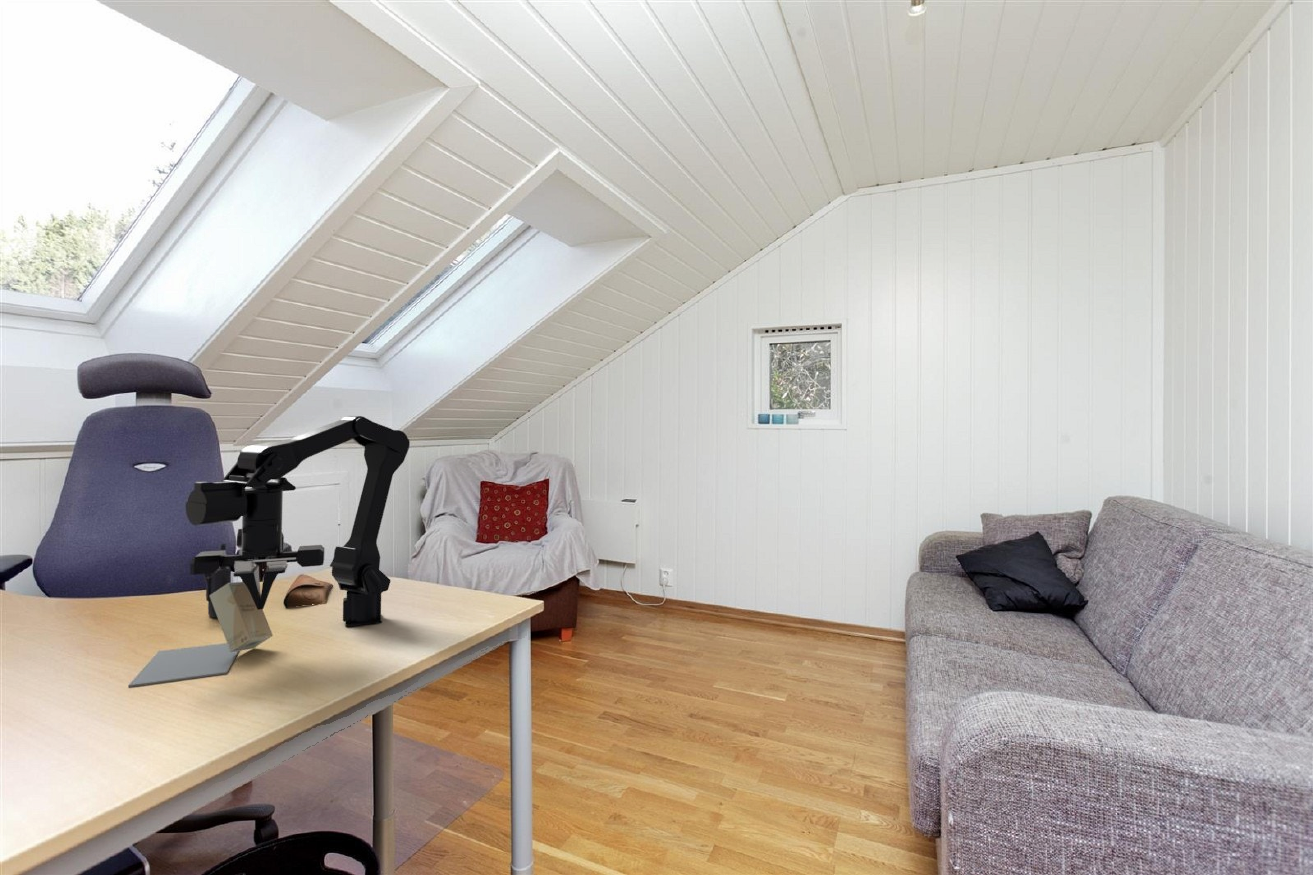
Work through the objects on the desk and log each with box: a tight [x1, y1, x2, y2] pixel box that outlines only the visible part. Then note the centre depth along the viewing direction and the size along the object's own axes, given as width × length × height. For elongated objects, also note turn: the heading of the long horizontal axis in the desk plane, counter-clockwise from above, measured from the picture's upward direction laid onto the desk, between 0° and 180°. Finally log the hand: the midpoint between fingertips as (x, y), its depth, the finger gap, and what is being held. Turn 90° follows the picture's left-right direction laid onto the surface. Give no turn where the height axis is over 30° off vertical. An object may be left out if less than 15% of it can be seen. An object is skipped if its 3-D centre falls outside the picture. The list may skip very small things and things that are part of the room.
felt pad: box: [127, 642, 240, 688], centre depth 97 cm, size 12×15×1 cm
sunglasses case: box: [283, 573, 333, 609], centre depth 137 cm, size 18×7×7 cm, turn 25°
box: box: [210, 581, 274, 652], centre depth 103 cm, size 5×4×11 cm
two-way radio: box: [202, 543, 232, 619], centre depth 121 cm, size 6×4×15 cm
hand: (260, 608), depth 102 cm, fingers closed
